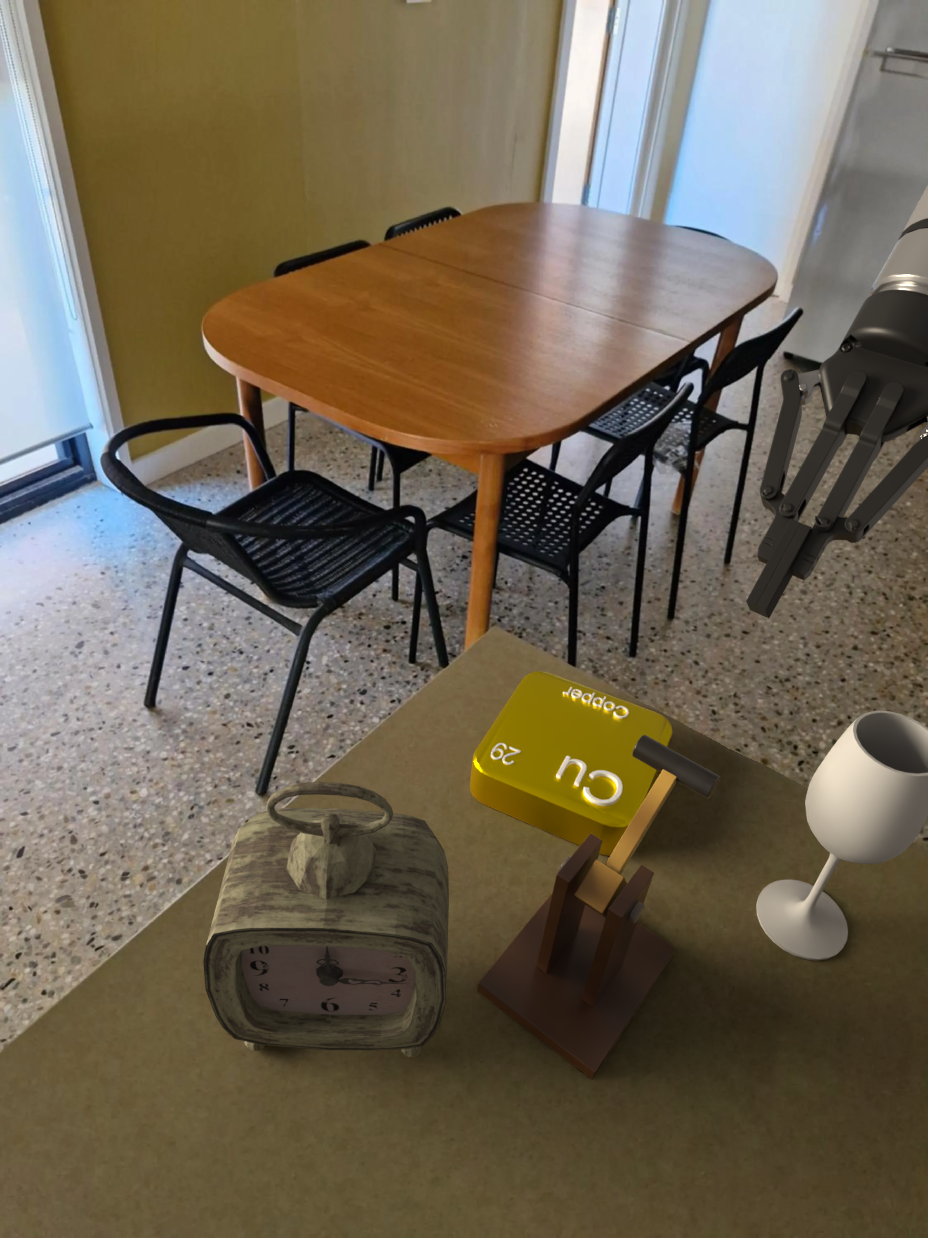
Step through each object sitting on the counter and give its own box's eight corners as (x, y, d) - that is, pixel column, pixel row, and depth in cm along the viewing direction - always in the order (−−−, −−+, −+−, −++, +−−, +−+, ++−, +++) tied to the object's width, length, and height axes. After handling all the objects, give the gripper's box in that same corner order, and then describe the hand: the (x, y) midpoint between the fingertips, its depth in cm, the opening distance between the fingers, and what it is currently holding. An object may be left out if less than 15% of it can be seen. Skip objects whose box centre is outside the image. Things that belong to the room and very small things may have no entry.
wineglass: (837, 980, 68) (950, 805, 55) (741, 930, 71) (827, 752, 58) (858, 908, 73) (967, 732, 60) (768, 864, 76) (853, 686, 63)
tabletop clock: (223, 1069, 60) (172, 842, 44) (249, 946, 67) (213, 712, 51) (437, 1078, 60) (462, 856, 45) (441, 955, 67) (463, 725, 52)
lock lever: (645, 740, 65) (643, 729, 63) (720, 781, 62) (721, 772, 60) (555, 885, 62) (550, 879, 60) (630, 935, 60) (627, 930, 57)
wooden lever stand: (563, 884, 73) (588, 782, 65) (672, 956, 69) (713, 856, 61) (476, 991, 65) (492, 891, 57) (592, 1080, 61) (626, 985, 53)
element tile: (668, 750, 86) (679, 714, 83) (620, 865, 75) (631, 830, 72) (526, 695, 90) (531, 660, 87) (461, 797, 79) (464, 761, 76)
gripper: (1007, 369, 63) (848, 661, 63) (829, 317, 69) (683, 585, 69) (1026, 313, 56) (848, 640, 56) (827, 261, 62) (665, 558, 62)
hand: (757, 609), depth 62 cm, fingers closed
